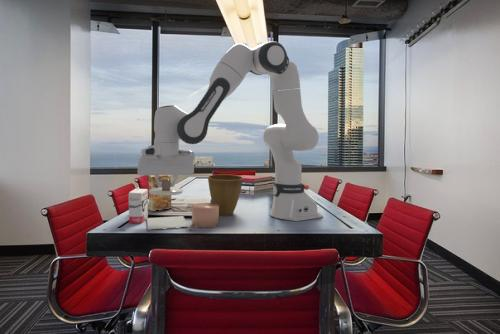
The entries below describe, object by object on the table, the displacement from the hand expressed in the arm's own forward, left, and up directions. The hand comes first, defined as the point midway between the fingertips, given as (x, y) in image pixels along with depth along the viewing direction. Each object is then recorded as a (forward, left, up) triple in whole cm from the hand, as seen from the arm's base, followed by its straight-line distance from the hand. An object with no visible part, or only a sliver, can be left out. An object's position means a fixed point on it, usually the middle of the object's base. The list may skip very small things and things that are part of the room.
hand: (166, 187), depth 119 cm
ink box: (+10, -7, -14) cm, 19 cm away
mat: (0, 0, -14) cm, 14 cm away
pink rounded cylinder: (-14, +4, -14) cm, 20 cm away
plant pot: (-25, -9, -14) cm, 30 cm away
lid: (0, 0, -2) cm, 2 cm away
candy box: (+1, -22, -14) cm, 26 cm away
